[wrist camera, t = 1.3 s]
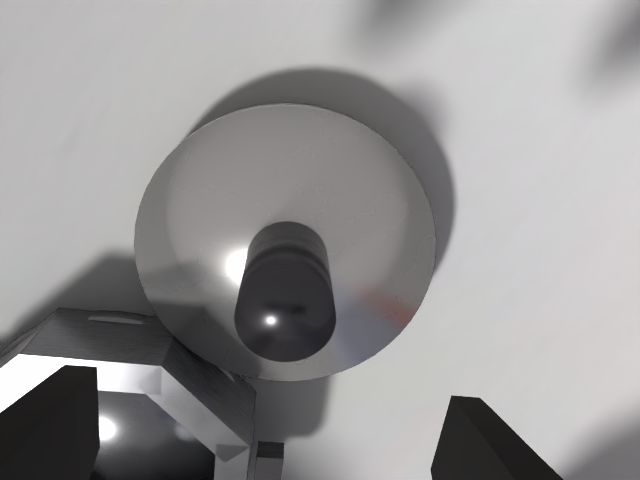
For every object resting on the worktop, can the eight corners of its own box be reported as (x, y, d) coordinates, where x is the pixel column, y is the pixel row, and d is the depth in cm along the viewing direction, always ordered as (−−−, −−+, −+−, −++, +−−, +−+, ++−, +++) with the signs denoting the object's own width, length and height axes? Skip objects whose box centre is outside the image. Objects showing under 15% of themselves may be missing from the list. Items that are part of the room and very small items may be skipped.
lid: (454, 120, 18) (518, 156, 13) (398, 368, 21) (429, 472, 16) (145, 80, 17) (80, 103, 12) (145, 348, 20) (97, 451, 15)
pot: (295, 327, 20) (295, 374, 17) (268, 528, 24) (265, 591, 22) (-68, 294, 19) (-130, 339, 16) (-31, 511, 23) (-75, 576, 20)
